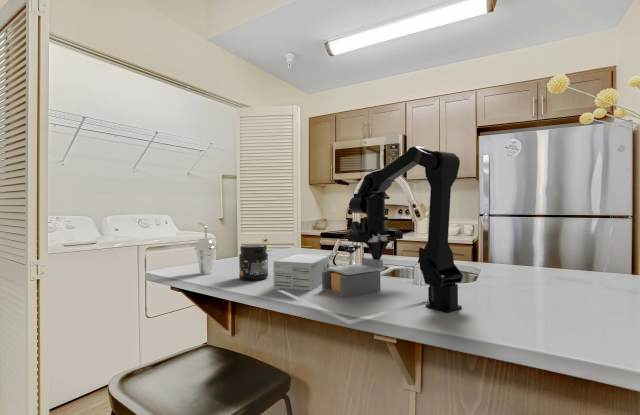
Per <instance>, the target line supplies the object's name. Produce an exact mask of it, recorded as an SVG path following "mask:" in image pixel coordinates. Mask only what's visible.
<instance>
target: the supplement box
mask: <svg viewBox="0 0 640 415" xmlns="http://www.w3.org/2000/svg"><path fill="white" fill-rule="evenodd" d="M329 257H330V256H329V255H322V254H321V255H319V254H302V253H301V254H299V253H298V254H293V255H290V256H288V257H287V256H286V257H284V258H281V259H277V260H273V290H274V291H285V289H287V290H297V291H298V290H301V291H313V290H314V289H316V288H317V287H319V286H320V285H321V286H322V271H329V270H327V268H329V264H330V263H329V262H330V261H329Z"/></svg>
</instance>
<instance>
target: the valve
mask: <svg viewBox="0 0 640 415" xmlns="http://www.w3.org/2000/svg"><path fill="white" fill-rule="evenodd" d="M341 249H342V250H345V252H347V253H348V254H349V255H348V262H346V265H351V264H356V263H355V262H354V255H353V254H354V252H355V253H356V251H357V250H359V249H361V245H358V244H354V245H353V244H343V245H341Z"/></svg>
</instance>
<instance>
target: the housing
mask: <svg viewBox="0 0 640 415" xmlns="http://www.w3.org/2000/svg"><path fill="white" fill-rule="evenodd" d="M331 273H335V272H334V271H330V270H329V271H322V284H321V290H322V291H323V292H324V293H325V292H326V293H328V294H330V295H334V296H336V297H339V298H342V299H344V298H348V297H353V296H354V297H355V296H357V295H363V294H369V293H373V292H379V291H381V290H382V289H381V287H382V286H381V270H378V271H371V272H366V273H360V274H353V275H347V276H341V277H340V293H339V292H336V291H333V290H331Z"/></svg>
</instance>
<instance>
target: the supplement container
mask: <svg viewBox="0 0 640 415" xmlns="http://www.w3.org/2000/svg"><path fill="white" fill-rule="evenodd" d="M267 248H268V247H267V245H266V244H262V243H261V244H259V243H258V244H257V243H256V244H254V243H253V244H244V245H241V246H240V248H239V249H240V250H239V251H240V254H239V255H238V258H239V260H238V262H239V264H238V265H239V270H238V271H239V275H238V277H239V279H240V280H242V281H245V280H247V281H248V282H257V280H258V281H261V280H265V279H268V276H269V259H268V258H269V254H268V252H267V251H268V250H267ZM247 281H246V282H247Z"/></svg>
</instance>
